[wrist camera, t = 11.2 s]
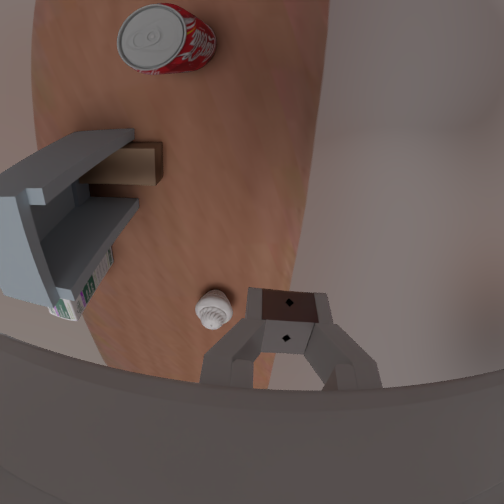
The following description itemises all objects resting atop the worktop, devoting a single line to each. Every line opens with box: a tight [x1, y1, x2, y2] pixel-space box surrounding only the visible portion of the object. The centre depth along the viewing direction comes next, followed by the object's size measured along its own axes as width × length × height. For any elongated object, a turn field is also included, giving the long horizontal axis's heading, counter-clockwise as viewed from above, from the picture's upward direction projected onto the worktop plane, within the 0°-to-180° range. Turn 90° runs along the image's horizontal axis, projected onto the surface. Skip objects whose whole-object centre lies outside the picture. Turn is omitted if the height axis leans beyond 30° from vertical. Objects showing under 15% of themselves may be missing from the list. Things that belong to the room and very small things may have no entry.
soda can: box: [117, 3, 216, 75], centre depth 23 cm, size 7×7×13 cm
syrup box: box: [47, 247, 114, 321], centre depth 40 cm, size 6×6×14 cm
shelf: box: [0, 128, 139, 308], centre depth 29 cm, size 12×10×22 cm
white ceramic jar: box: [195, 290, 233, 330], centre depth 48 cm, size 6×6×7 cm
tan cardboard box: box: [79, 142, 163, 186], centre depth 36 cm, size 5×12×4 cm, turn 85°
